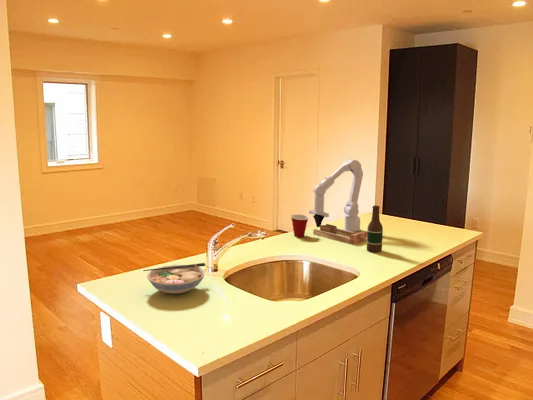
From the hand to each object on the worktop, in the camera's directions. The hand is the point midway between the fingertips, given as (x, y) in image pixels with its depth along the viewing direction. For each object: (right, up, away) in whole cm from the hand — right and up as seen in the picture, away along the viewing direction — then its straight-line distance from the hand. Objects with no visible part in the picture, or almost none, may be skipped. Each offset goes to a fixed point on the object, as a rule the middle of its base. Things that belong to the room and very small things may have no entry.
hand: (318, 226), depth 279 cm
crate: (+5, -4, -5) cm, 9 cm away
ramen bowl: (-67, -20, -97) cm, 120 cm away
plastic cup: (-12, -5, -9) cm, 16 cm away
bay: (+10, -5, -12) cm, 16 cm away
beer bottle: (+25, -11, -39) cm, 48 cm away
